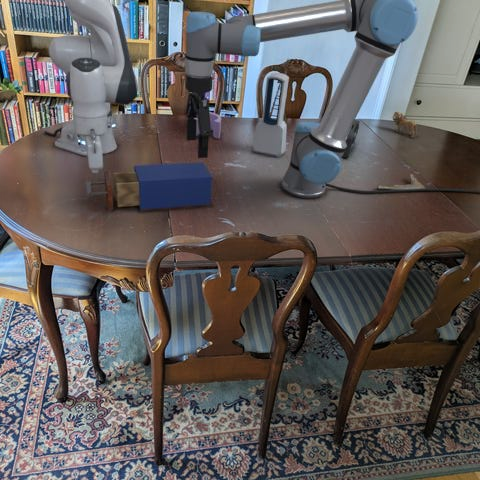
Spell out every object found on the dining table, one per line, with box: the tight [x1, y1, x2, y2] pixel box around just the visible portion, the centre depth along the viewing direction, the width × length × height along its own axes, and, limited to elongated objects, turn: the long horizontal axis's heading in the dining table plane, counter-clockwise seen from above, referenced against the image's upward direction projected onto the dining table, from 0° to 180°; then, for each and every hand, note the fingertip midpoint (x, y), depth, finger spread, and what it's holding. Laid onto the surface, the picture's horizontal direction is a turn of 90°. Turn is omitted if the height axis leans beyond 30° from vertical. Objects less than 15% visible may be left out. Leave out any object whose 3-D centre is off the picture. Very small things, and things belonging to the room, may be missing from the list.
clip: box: [194, 111, 222, 140], centre depth 199 cm, size 20×12×7 cm, turn 23°
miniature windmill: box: [269, 58, 290, 124], centre depth 205 cm, size 9×8×30 cm
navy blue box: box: [133, 161, 213, 213], centre depth 143 cm, size 22×11×10 cm, turn 109°
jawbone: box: [376, 173, 426, 190], centre depth 169 cm, size 9×20×2 cm, turn 126°
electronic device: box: [251, 72, 290, 158], centre depth 178 cm, size 12×8×30 cm, turn 71°
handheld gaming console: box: [342, 119, 361, 159], centre depth 194 cm, size 23×3×10 cm, turn 161°
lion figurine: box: [392, 111, 420, 138], centre depth 220 cm, size 15×5×9 cm, turn 50°
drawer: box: [85, 170, 140, 211], centre depth 139 cm, size 26×10×8 cm, turn 109°
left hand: (95, 170), depth 133 cm, fingers closed
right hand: (196, 148), depth 139 cm, fingers open, 13 cm apart
